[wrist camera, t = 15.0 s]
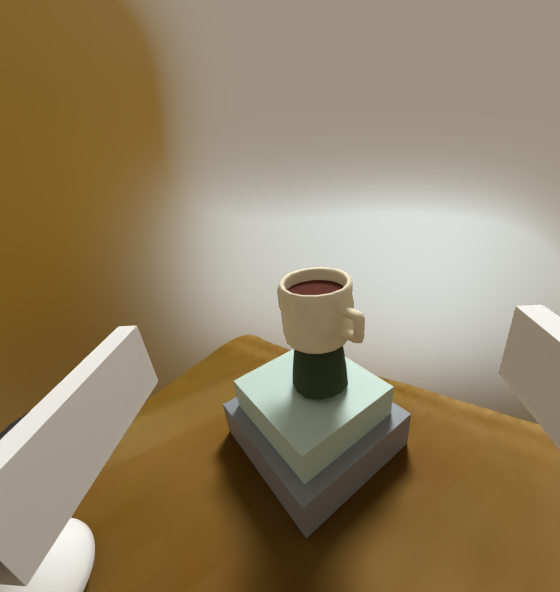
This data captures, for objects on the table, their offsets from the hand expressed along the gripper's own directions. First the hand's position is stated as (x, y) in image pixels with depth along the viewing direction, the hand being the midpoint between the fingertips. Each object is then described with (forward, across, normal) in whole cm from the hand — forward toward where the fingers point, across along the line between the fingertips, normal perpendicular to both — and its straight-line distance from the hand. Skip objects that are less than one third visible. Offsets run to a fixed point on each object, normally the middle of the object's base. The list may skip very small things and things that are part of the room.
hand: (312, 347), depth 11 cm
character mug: (+18, 0, -18) cm, 26 cm away
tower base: (+18, -2, -27) cm, 33 cm away
